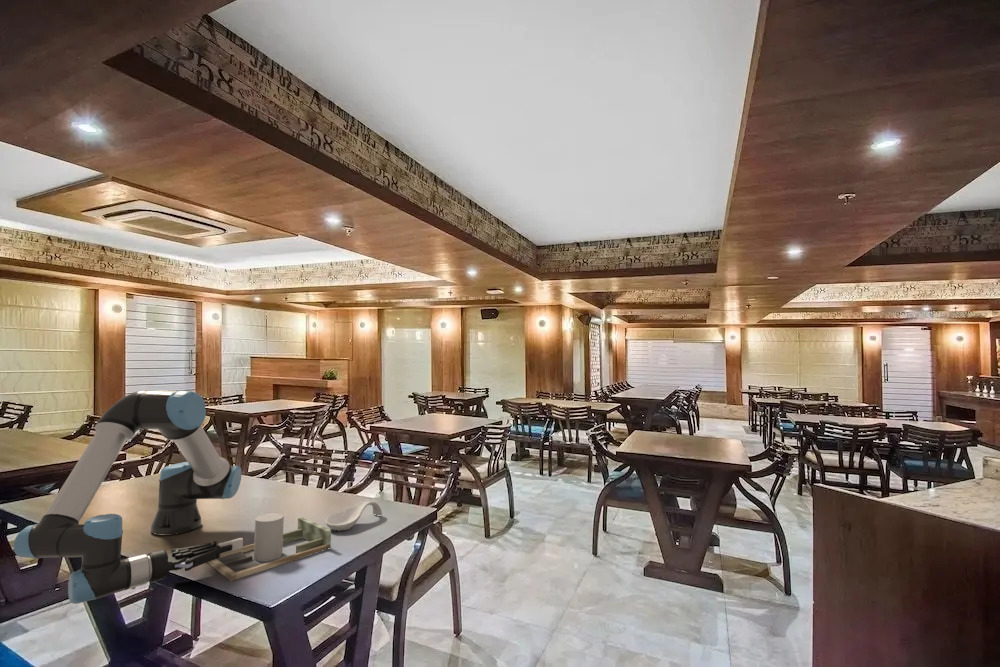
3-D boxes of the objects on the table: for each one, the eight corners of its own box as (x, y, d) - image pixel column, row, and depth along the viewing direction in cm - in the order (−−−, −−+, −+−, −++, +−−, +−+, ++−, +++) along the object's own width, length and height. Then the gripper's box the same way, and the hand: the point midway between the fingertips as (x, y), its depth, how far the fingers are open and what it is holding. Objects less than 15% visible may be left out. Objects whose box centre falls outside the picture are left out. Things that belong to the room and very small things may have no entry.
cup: (274, 548, 155) (276, 511, 156) (286, 555, 150) (288, 516, 150) (249, 556, 149) (250, 517, 149) (260, 563, 144) (262, 523, 144)
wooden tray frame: (205, 561, 144) (206, 541, 144) (301, 534, 168) (302, 517, 168) (231, 581, 132) (232, 559, 132) (330, 548, 156) (331, 530, 156)
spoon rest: (339, 537, 167) (340, 516, 167) (318, 530, 173) (318, 510, 173) (388, 518, 187) (388, 500, 187) (367, 513, 193) (367, 495, 193)
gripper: (139, 575, 129) (232, 549, 147) (154, 590, 121) (250, 561, 139) (141, 547, 129) (233, 525, 147) (155, 560, 121) (251, 535, 139)
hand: (241, 542), depth 143 cm, fingers closed
